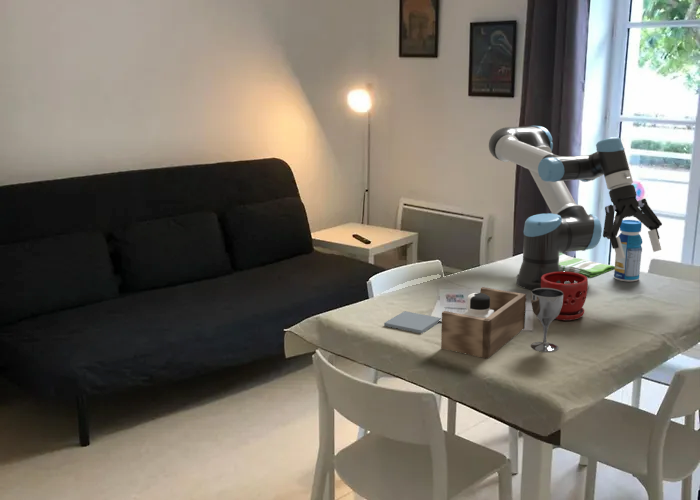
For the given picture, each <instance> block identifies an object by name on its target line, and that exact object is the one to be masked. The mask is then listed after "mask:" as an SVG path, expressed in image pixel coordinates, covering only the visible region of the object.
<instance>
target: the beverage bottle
mask: <svg viewBox="0 0 700 500" xmlns="http://www.w3.org/2000/svg"><path fill="white" fill-rule="evenodd" d="M642 224H643V223H641V222H640V221H639V220H636V219H623V221H622V223H621V226H620V228H619V232H620V234H619V235H617V237H620V241H621V244H622V248H623V251H624V255H625V258H622V259H618V260H617V256H616V255H615V259H614V260H615V261H614V267H615V269H613V270H614V274H613V277H614V279H615V280H617V281H621V282H632V283H633V282H637V281H638V280H639V279H640V271H641V262H642V252H643V247H642V244H643V239H642V237H641V234H640V233H641V231H642Z"/></svg>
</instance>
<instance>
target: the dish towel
mask: <svg viewBox="0 0 700 500" xmlns="http://www.w3.org/2000/svg"><path fill="white" fill-rule="evenodd" d="M559 266H560V270H561V271H565V272H574V273H579V274H582V275H584V276H586V277H587V279H588V278H594V277H597V276H600V275H602V274H605V273H607V272H610V271H613V270H615V265H610V264H605V263H600V262H596V261H595V262H594V261H590V260H586V259H582V258H579V257H578V258H575V257H572V256H570V255H566V253H564V252H562V253H559Z"/></svg>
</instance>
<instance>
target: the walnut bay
mask: <svg viewBox="0 0 700 500" xmlns="http://www.w3.org/2000/svg"><path fill="white" fill-rule="evenodd" d="M479 291H480V292H479V293H484V294H486V295H488V296H489V297H490V310H494V313H493V314H491V315H490V316H489V317H487V318H480V317H475V316H469V315H464V314H463V313H458V312H453V311H446V310H443V311H442V312H441V339H440V340H441V342H440V343H441V345H440V346H441V347H440V348H442V349H441V350H445V349H447V350H446V351H450V350H452V351H451V352H454V351H457V352H456V353H459V352H461V353H460V354H463V353H466V354H465V355H468V354H469V356H473V357H479V358H483V359H489V358H490V357H492V356H493V355H494V354H495V353H497V352H498V351H499V350H501V348H502V347H503V346H505V345H506V344H507V343H509V342H510V341H511V340H512V339H513V338H514V337H516V336H517V335H518V334H520V331H521V330H522V329H523V330H524V329H526V327H525V325H526V303H527V293H522V292H515V291H509V290H503V289H496V288H491V287H485V286H484V287H483V286H482V287H480V289H479ZM523 330H522V331H523ZM522 331H521V332H522Z"/></svg>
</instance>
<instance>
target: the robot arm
mask: <svg viewBox="0 0 700 500" xmlns="http://www.w3.org/2000/svg"><path fill="white" fill-rule="evenodd" d="M595 146H596V151H595V152H594V153H591V154H586V155H574V156H573V155H571V156H561V155H559V154H558V155H557V154H554V153H553V152H552V151H553V148H554V143H553V137H552V134H551V132H550V131H549V130H548V129H547V128H546V127H544V126H541V125H528V126H506V127H502V128H500V129H497V130H496V131H494V133H492V135H490V138H489V140H488V150H489V153H490V154H491V156H492V157H494V158H495V159H496V160H498V161H501V162H504V163H508V162H511V163H514V164H516V165H519V166H521V167H523V168H524V169H527V170H528V171H529V172H530V175H531V176H532V178H533V180H534V183H536V186H537V188H538V190H539V191H540V194H541V195H542V197H543V199H544V201H545V204H546V205H547V207H548V208H549V210H550V213H549V212H547V213H537V214H534V215H531V216H528V217H527V218H526V220H525V222H524V225H523V226H524V227H523V248H522V262H521V266H520V268H519V271H518V274H517V275H516V281H515V282H516V285H517V286H518V287H520V288H522V289H525V290H531V291H532V290H534V289H537V288H541V277H542V276H543V275H544V274H547V273H551V272H561V270H560V266H559V253H569V252H578V251H582V252H583V251H584V252H585V251H586V250H591V249H592V250H593V249H594V248H596V247H597V246H598V244H599V243H600V242H601V237H603V238H604V239H605V238H606V240H610V244H611V248H612V249H613V250H614V252H615V256H617V260H618V259H622V258H625V255H624V251H623V248H622V244H621V241H620V237H618V233H619V232H620V226H621V223H622V221H623V220H625V219H627V218H631V217H633V218H635V219H637V221H640V222H641V224H643V226H645V227H646V228H647V229H648V230H649V231H647V234H648V237H649V242H650V244H651V247H652V251H653V253H655V252H658V251H661V250H662V247H661V242H660V241H659V240H660V239H661V237H660V234H659V231H658V229H659V228H660V227H661V226H662V225H663V223H662V221H661V220H660V219H659V218H658V216H657V215H656V214H655V212H654V211H653V210H652V208H651V207H650V205H649V204H648V201H647V199H646V198H642V199H639V200H638V199H637V191H636V187H635V185H634V184H633V183H634V181H633V178H632V177H633V176H632V173H631V171H630V166H629V162H628V159H627V156H626V152H625V148H624V147H625V146H624V144H623V142H622V140H621V138H620V137H618V136H612V137H608V138H604V139H601V140H600V141H598V142H596V144H595ZM602 176H604V180H605V183H606V188H607V189H608V190H609V191H608V194H609V199H610V201H611V203H612V204H609V205H606V206H604V211H605V217H604V225H603V229H602V223H601V220H600V218H599V217H598V216H597V215H594V214H591V213H590V214H588V212H587V211H586V209H585V208H584V206H583V205H581V204H577V203H576V201H575V200H574V197H573V196H572V193H571V192H570V189H569V188H568V187H567V185H566V182H565V181H577V180H579V181H581V182H584V183H586V182H591V181H594V180H596V179H598V178H600V177H602ZM602 230H603V232H602ZM556 283H560V281H557V282H556Z"/></svg>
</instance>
